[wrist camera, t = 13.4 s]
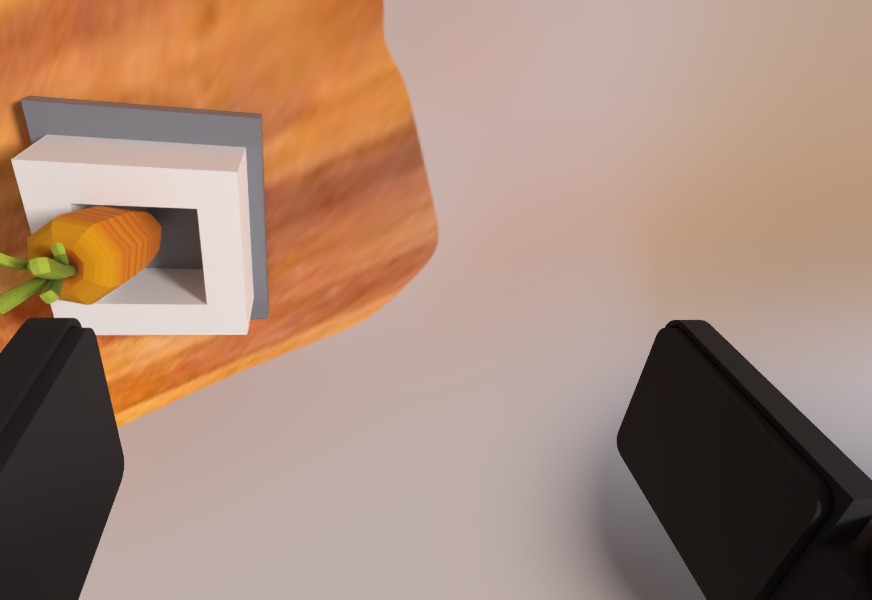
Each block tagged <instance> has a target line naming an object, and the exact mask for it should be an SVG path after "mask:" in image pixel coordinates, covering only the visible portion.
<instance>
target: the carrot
mask: <svg viewBox="0 0 872 600" xmlns="http://www.w3.org/2000/svg"><path fill="white" fill-rule="evenodd" d="M161 230H162V226H161V225H160V224H159V223H158V221H157V220H156V219H155V218H154V216H153V215H152V214H150V213H148V212H145V211H140V210H135V209H130V208H125V207H113V206H97V207H92V208H87V209H82V210H77V211H73V212H69V213H66V214H62V215H59V216H57V217H55V218H54V219H53V220H51V221H50V222H48V223H47V224H46V225H44V226H43V227H41V228H40V229H39V230H37V231H36V232H34V233H33V234H32V235H30V236H29V237H28V238H27V239H26V260H22V259H18V258H14V257H10V256H7V255H5V254H2V253H0V265H1V266H3V267H8V268H14V269H20V270H26V272H27V273H28V274H29V275H30V276H31V277H32V278H33V279H31V280H29V281H27V282H25V283H23V284H21V285H19V286H17V287H15V288H13V289H11V290H9V291H7V292H5V293H4V294H2V295H0V314H4V313H6V312H8V311H10V310H11V309H13V308H14V307H16V306H17V305H19V304H20V303H22V302H23V301H25V300H26V299H28V298H29V297H31V296H32V295H34V294H35V293H37V292H39V291H40V290H41V292H40V295H39V296H40V298H41V299H42V300H43V301H44V302H46V303H47V304H50V303H53V302H55V301H56V300H62V301H68V302H74V303H79V304H85V305H91V304H94V303H96V302H97V301H99V300H100V299H102V298H103V297H104V296H106V295H107V294H109V293H110V292H112V291H113V290H115V289H116V288H118V287H119V286H121V285H122V284H124V283H125V282H126V281H128V280H129V279H131V278H132V277H134V276H135V275H137V274H138V273H139V272H140V271H142V270H143V269H144V268H145V267H147V266H148V265H149V264H150V262H151V261H152V260H153V258H154V257H155V256H156V254H157V252H158V251H159V249H160V242H161Z"/></svg>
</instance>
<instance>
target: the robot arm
mask: <svg viewBox="0 0 872 600" xmlns="http://www.w3.org/2000/svg"><path fill="white" fill-rule="evenodd" d="M617 447H618V451H619V453H620V455H621V457H622V458H623V460H624V462H625V463H626V465H627V467H628V468H629V470H630V472H631V473H632V475H633V477H634V478H635V480H636V482H637V483H638V485H639V487H640V489H641V490H642V492H643V493H644V495H645V497H646V499H647V500H648V502H649V504H650V505H651V507H652V509H653V510H654V512H655V514H656V515H657V517H658V519H659V520H660V522H661V524H662V525H663V527H664V529H665V530H666V532H667V534H668V535H669V537H670V539H671V540H672V542H673V544H674V545H675V547H676V549H677V550H678V552H679V554H680V555H681V557H682V559H683V560H684V562H685V564H686V566H687V567H688V569H689V571H690V572H691V574H692V575H693V577H694V579H695V581H696V582H697V584H698V586H699V587H700V589H701V591H702V592H703V594H704V595H705V597H706V599H707V600H872V480H871V479H870V478H869V477H868V476H867V475H866V474H865V473H864V472H862V470H860V469H859V468H858V467H857V466H856V465H855V464H854V463H853V462H852V461H851V460H850V459H849V458H848V457H847V456H846V455H845V454H844V453H843V452H842V451H841V450H840V449H839V448H838V447H837V446H836V445H835V444H834V443H833V442H832V441H830V440H829V439H828V438H827V437H826V436H825V435H824V434H823V433H822V432H821V431H820V430H819V429H818V428H817V427H816V426H815V425H814V424H813V423H812V422H811V421H810V420H809V419H808V418H807V417H806V416H805V415H803V414H802V413H801V412H800V411H799V410H798V409H797V408H796V407H795V406H794V405H793V404H792V403H791V402H790V401H789V400H788V399H787V398H786V397H785V396H784V395H783V394H782V393H781V392H780V391H779V390H778V389H777V388H775V387H774V386H773V385H772V384H771V383H770V382H769V381H768V380H767V379H766V378H765V377H764V376H763V375H762V374H761V373H760V372H759V371H758V370H757V369H755V367H754V366H753V365H751V364H750V363H749V362H748V361H747V360H746V359H745V358H744V357H743V356H742V355H741V354H740V353H739V352H738V351H737V350H736V349H735V348H734V347H733V346H732V345H731V344H730V343H729V342H728V341H727V340H726V339H725V338H724V337H722V335H720V334H719V333H718V332H717V331H716V330H715V329H714V328H713V327H712V326H711V325H710V324H709V323H707V322H706V321H702V320H673V321H670V322H669V323H668V324H667V325H666V327H665V328H663V329H661V330H660V331H659V332H658V334H657V336H656V338H655V341H654V343H653V346H652V348H651V351H650V354H649V356H648V358H647V361H646V364H645V366H644V369H643V371H642V374H641V376H640V379H639V381H638V384H637V386H636V389H635V391H634V394H633V396H632V399H631V401H630V404H629V407H628V409H627V411H626V414H625V417H624V419H623V422H622V424H621V426H620V429H619V432H618V435H617ZM123 471H124V456H123V451H122V447H121V443H120V438H119V434H118V429H117V425H116V421H115V416H114V412H113V408H112V403H111V399H110V395H109V390H108V386H107V382H106V377H105V373H104V369H103V364H102V360H101V356H100V351H99V347H98V343H97V338H96V335H95V332H94V330H93V329H92V328H82V326H81V323H80V322H79V321H78V319H76V318H30V319H28V320H26V321H25V322H24V323H23V325H22V326H21V327H20V329H19V330H18V331H17V332H16V334H15V335H14V336H13V338H12V339H11V340H10V341H9V343H8V344H7V345H6V347H5V348H4V349H3V351H2V352H1V353H0V600H78V599H79V596H80V593H81V591H82V588H83V585H84V582H85V580H86V577H87V574H88V571H89V569H90V566H91V563H92V560H93V557H94V555H95V552H96V549H97V547H98V544H99V541H100V538H101V536H102V533H103V530H104V527H105V524H106V522H107V519H108V516H109V513H110V511H111V508H112V505H113V502H114V500H115V497H116V494H117V492H118V489H119V486H120V483H121V480H122V476H123Z"/></svg>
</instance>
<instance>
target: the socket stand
mask: <svg viewBox="0 0 872 600" xmlns="http://www.w3.org/2000/svg"><path fill="white" fill-rule="evenodd" d="M21 104H22V108H23V112H24V116H25V120H26V124H27V128H28V132H29V136H30V140H31V144H32V145H31V146H29V147H28V148H27V149H25V150H24V151H22V152H21V153H20V154H18V155H17V156H15V157H14V158H12V159H11V161H12V165H13V169H14V172H15V176H16V180H17V183H18V187H19V191H20V194H21V198H22V202H23V205H24V209H25V213H26V216H27V220H28V224H29V227H30V231H31V235H32V234H33V233H34V232H36V231H37V230H39V229H40V228H41V227H43V226H44V225H46V224H47V223H48V222H50V221H51V220H53V219H54V218H55V217H57V216H59V215H62V214H66V213H69V212H73V211H77V210H82V209H87V208H92V207H97V206H113V207H125V208H130V209H135V210H140V211H145V212H148V213H150V214H152V215H153V216H154V218H155V219H156V220H157V221H158V223H159V224H160V225H161V226H162V230H161V242H160V249H159V251H158V252H157V254H156V256H155V257H154V258H153V260H152V261H151V262H150V264H149V265H148V266H147V267H145V268H144V269H143V270H142V271H140V272H139V273H138V274H137V275H135V276H134V277H132V278H131V279H129V280H128V281H126V282H125V283H124V284H122V285H121V286H119V287H118V288H116V289H115V290H113V291H112V292H110V293H109V294H107V295H106V296H104V297H103V298H102V299H100V300H99V301H97V302H96V303H94V304H91V305H85V304H79V303H74V302H68V301H62V300H56V301H55V302H53V303H50V304H51V308H52V312H53V315H54V318H76V319H78V321H79V322H80V323H81V326H82V328H92V329H93V330H94V332H95V335H247V334H248V328H249V322H250V319H268V314H269V301H268V274H267V247H266V220H265V193H264V166H263V139H262V114H254V113H241V112H229V111H216V110H203V109H190V108H177V107H165V106H152V105H139V104H126V103H113V102H101V101H88V100H75V99H62V98H49V97H37V96H28V97H26V98H24V99H22V100H21Z"/></svg>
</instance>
